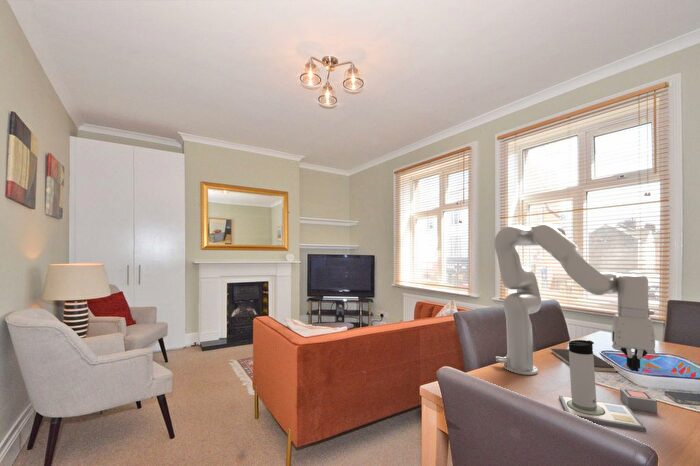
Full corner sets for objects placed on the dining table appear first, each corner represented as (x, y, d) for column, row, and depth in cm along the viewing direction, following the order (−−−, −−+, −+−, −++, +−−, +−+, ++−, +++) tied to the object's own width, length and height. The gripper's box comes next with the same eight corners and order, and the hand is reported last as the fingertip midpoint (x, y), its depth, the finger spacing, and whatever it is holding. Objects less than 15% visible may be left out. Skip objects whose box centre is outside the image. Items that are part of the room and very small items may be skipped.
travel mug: (602, 412, 96) (598, 344, 98) (577, 410, 98) (573, 343, 99) (591, 402, 102) (587, 338, 104) (568, 401, 104) (564, 337, 105)
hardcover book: (574, 370, 134) (574, 365, 134) (551, 353, 157) (550, 348, 157) (618, 373, 131) (617, 367, 131) (588, 355, 154) (587, 350, 154)
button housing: (628, 408, 101) (627, 396, 102) (620, 398, 108) (619, 388, 108) (657, 412, 99) (656, 401, 99) (647, 402, 105) (646, 391, 105)
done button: (631, 402, 102) (631, 395, 102) (626, 396, 106) (626, 390, 106) (649, 405, 100) (649, 398, 100) (643, 399, 104) (643, 392, 104)
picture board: (568, 418, 96) (567, 413, 96) (559, 398, 109) (559, 394, 109) (646, 431, 88) (645, 427, 88) (626, 408, 101) (626, 404, 101)
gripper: (657, 312, 105) (658, 369, 105) (600, 308, 111) (601, 362, 111) (668, 317, 98) (669, 378, 98) (607, 312, 104) (608, 370, 104)
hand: (633, 369), depth 104 cm, fingers closed
